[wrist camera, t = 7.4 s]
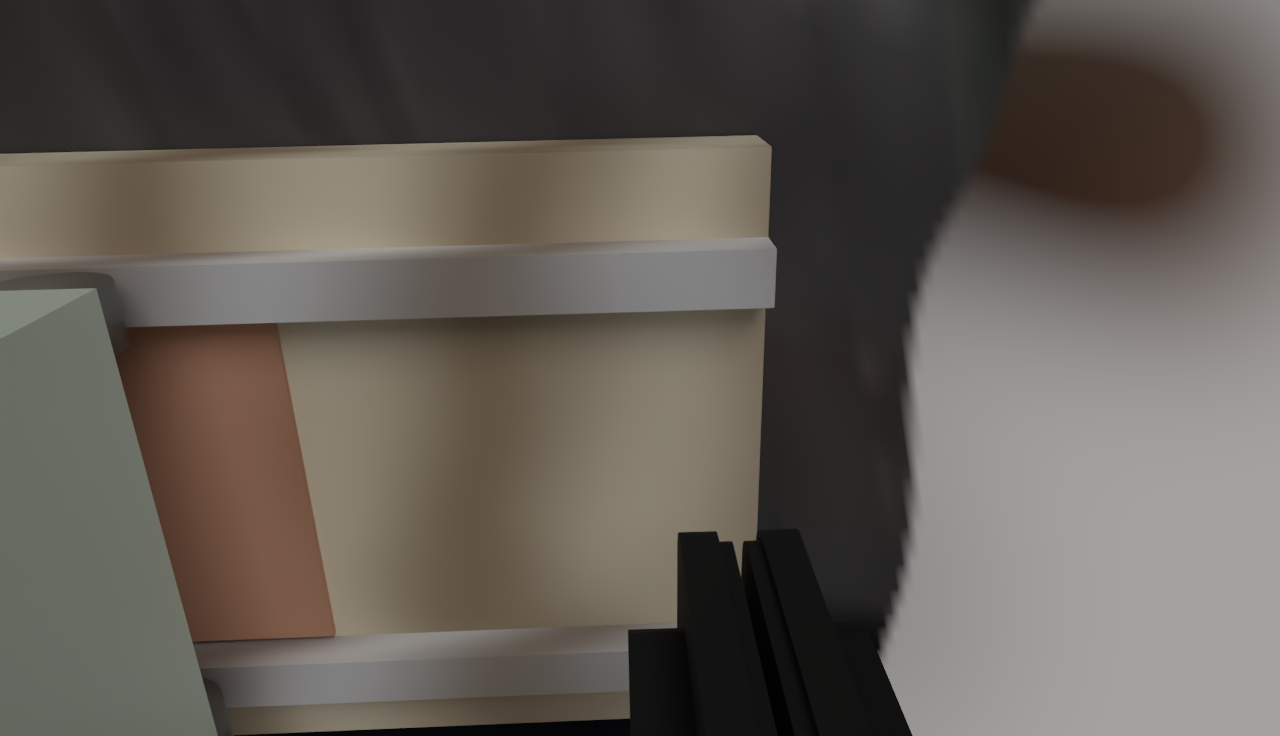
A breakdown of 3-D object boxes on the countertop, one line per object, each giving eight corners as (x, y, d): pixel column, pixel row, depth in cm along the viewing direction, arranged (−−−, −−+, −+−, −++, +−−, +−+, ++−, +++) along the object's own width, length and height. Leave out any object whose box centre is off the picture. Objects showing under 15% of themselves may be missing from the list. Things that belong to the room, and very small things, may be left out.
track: (756, 135, 15) (780, 154, 13) (739, 664, 20) (755, 742, 18) (-511, 166, 15) (-698, 191, 13) (-229, 704, 19) (-332, 789, 17)
